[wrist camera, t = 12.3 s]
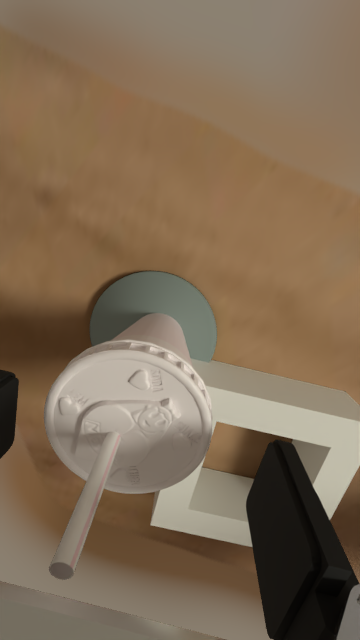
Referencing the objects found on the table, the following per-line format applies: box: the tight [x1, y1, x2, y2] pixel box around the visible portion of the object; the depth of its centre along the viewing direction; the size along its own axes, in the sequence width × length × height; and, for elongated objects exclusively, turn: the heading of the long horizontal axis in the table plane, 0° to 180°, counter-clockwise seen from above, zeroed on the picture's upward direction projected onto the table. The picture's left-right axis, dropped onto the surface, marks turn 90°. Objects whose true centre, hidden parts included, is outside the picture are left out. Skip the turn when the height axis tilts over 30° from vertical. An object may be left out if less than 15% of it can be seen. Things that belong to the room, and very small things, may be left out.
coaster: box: [90, 271, 217, 363], centre depth 20 cm, size 9×9×1 cm
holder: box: [150, 359, 360, 547], centre depth 20 cm, size 12×12×4 cm
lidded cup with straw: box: [44, 313, 213, 580], centre depth 13 cm, size 6×6×14 cm
